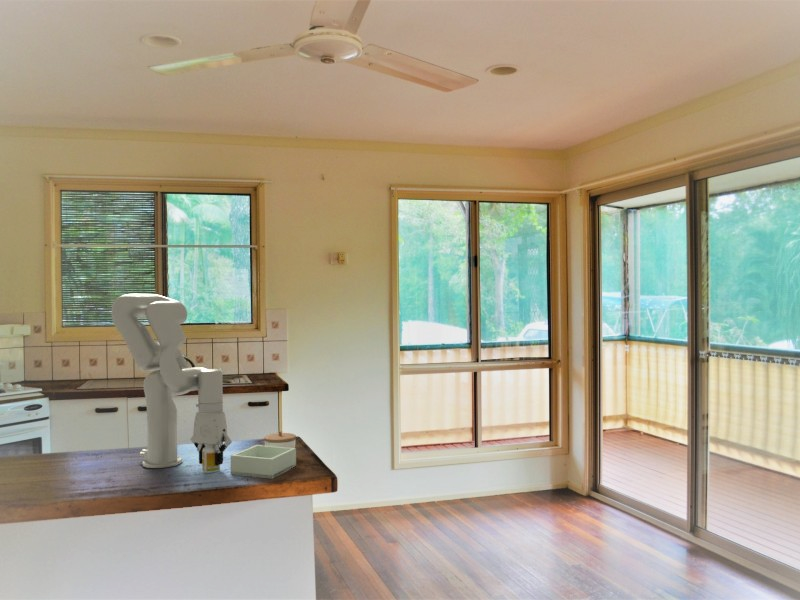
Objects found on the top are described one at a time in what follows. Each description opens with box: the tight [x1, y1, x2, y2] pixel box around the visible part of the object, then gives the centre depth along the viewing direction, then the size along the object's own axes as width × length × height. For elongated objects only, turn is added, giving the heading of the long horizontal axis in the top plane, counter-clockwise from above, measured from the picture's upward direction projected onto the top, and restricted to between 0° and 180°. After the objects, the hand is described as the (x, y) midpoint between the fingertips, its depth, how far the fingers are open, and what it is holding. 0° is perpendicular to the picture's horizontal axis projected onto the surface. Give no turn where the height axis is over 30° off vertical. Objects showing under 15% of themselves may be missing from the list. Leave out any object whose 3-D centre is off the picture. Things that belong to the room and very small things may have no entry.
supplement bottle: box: [201, 444, 221, 474], centre depth 202 cm, size 5×5×10 cm
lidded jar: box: [263, 430, 297, 448], centre depth 217 cm, size 11×11×9 cm
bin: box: [230, 444, 297, 480], centre depth 202 cm, size 15×15×6 cm
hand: (211, 463), depth 202 cm, fingers closed on supplement bottle, 5 cm apart
